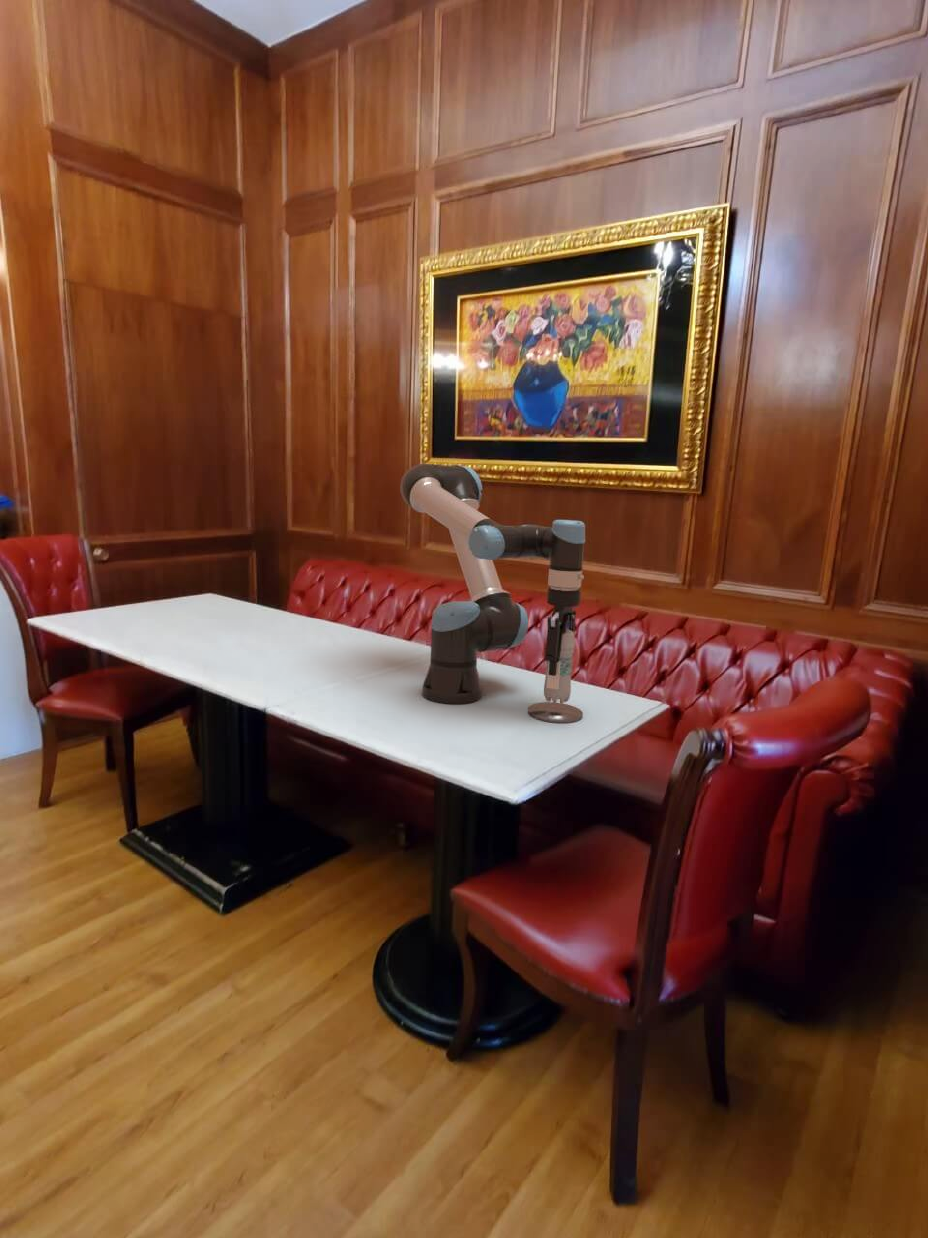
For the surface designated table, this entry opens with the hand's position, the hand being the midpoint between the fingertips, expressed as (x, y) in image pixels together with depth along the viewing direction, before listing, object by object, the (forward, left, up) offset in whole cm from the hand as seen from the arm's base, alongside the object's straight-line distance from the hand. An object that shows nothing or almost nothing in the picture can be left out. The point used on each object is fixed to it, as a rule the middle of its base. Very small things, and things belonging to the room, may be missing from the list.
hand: (557, 684), depth 165 cm
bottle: (0, 0, -4) cm, 4 cm away
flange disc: (0, 0, -7) cm, 7 cm away
